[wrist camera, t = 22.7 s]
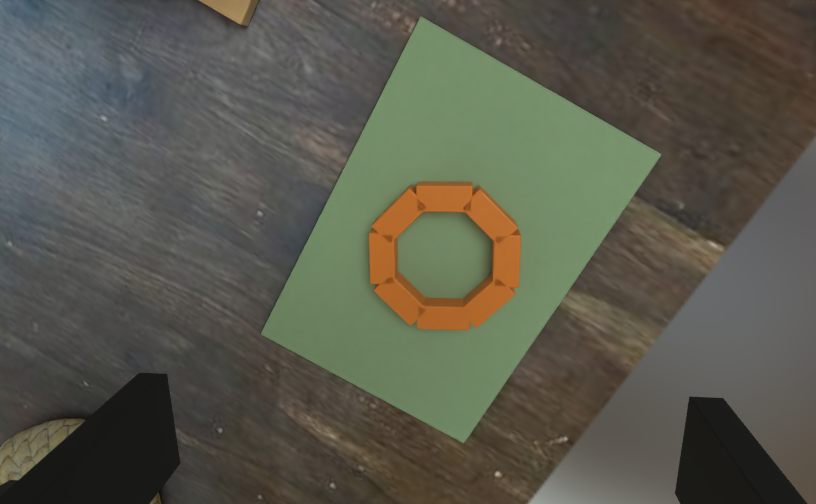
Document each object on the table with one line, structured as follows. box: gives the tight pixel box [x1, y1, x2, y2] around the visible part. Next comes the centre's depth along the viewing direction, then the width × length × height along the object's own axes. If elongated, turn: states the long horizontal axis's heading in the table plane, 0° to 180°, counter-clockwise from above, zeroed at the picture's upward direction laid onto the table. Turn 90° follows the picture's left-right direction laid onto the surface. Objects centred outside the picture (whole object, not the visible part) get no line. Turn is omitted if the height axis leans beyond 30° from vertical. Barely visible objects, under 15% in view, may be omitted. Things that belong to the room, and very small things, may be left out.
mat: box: [261, 17, 661, 443], centre depth 32 cm, size 20×14×1 cm
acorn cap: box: [0, 418, 161, 504], centre depth 37 cm, size 10×11×10 cm
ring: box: [369, 181, 521, 331], centre depth 31 cm, size 8×8×1 cm
